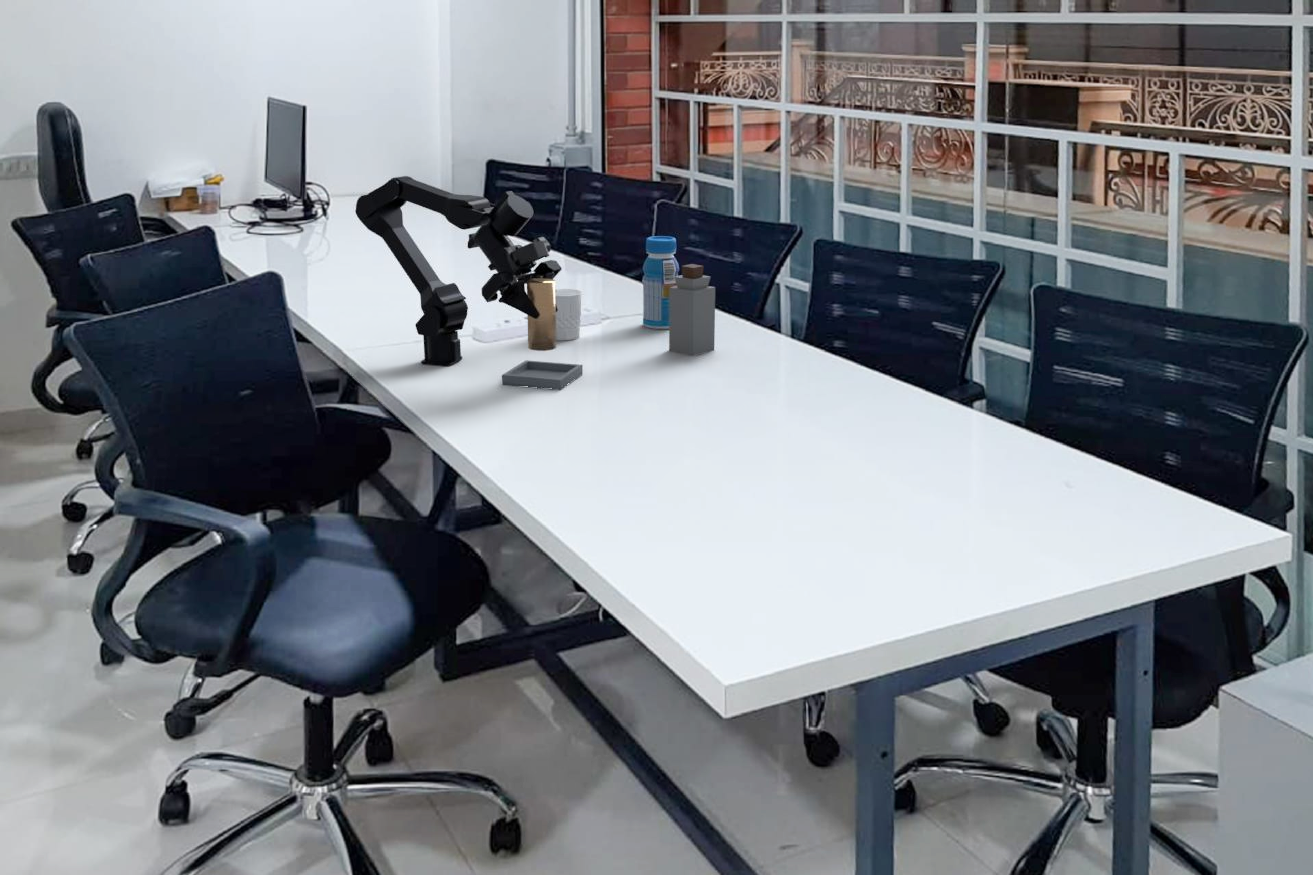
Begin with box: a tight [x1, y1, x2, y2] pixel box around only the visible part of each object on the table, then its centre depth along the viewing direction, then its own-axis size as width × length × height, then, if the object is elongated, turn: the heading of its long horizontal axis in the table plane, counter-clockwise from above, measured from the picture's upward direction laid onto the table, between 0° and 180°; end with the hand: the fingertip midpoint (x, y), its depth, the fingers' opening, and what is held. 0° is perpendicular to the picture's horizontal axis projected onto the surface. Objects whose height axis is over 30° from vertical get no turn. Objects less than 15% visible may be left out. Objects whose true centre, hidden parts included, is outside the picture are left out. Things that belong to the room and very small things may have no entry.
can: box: [526, 278, 557, 352], centre depth 265 cm, size 5×5×13 cm
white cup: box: [555, 288, 582, 341], centre depth 302 cm, size 8×8×10 cm
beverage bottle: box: [641, 235, 680, 330], centre depth 311 cm, size 8×8×20 cm
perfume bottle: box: [668, 263, 716, 357], centre depth 290 cm, size 7×7×18 cm
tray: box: [501, 359, 584, 391], centre depth 269 cm, size 12×12×2 cm
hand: (547, 314), depth 265 cm, fingers closed on can, 5 cm apart
